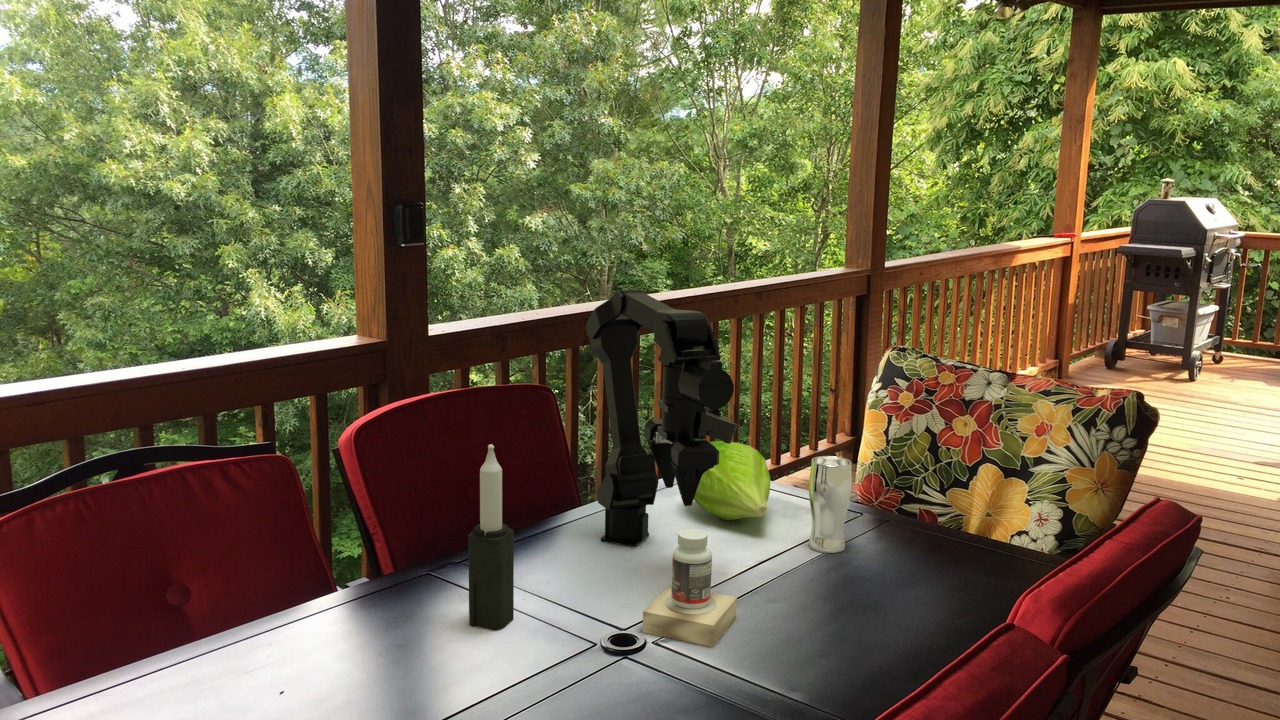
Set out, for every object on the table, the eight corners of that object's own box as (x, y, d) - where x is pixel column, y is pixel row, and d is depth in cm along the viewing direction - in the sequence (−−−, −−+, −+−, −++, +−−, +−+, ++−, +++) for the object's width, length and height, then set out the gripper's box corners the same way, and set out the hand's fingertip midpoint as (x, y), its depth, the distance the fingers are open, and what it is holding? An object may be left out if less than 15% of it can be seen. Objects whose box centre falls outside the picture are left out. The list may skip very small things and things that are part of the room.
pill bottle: (664, 597, 138) (666, 529, 136) (698, 591, 140) (700, 525, 138) (682, 612, 133) (684, 542, 131) (717, 606, 135) (720, 537, 134)
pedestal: (642, 632, 134) (643, 609, 134) (669, 604, 144) (670, 583, 143) (712, 646, 131) (713, 623, 130) (736, 617, 140) (737, 595, 139)
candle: (516, 616, 138) (516, 441, 134) (499, 631, 134) (499, 450, 129) (483, 611, 140) (482, 438, 136) (465, 625, 135) (464, 446, 131)
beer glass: (845, 540, 172) (850, 456, 169) (849, 555, 165) (855, 467, 162) (804, 538, 172) (809, 454, 170) (807, 553, 165) (811, 465, 163)
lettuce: (799, 542, 177) (720, 562, 172) (745, 481, 196) (673, 497, 192) (802, 471, 171) (721, 489, 166) (746, 415, 190) (671, 430, 186)
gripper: (755, 407, 142) (750, 512, 145) (711, 382, 160) (707, 476, 163) (680, 410, 139) (677, 517, 142) (644, 384, 157) (642, 480, 160)
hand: (678, 496), depth 151 cm, fingers open, 9 cm apart
